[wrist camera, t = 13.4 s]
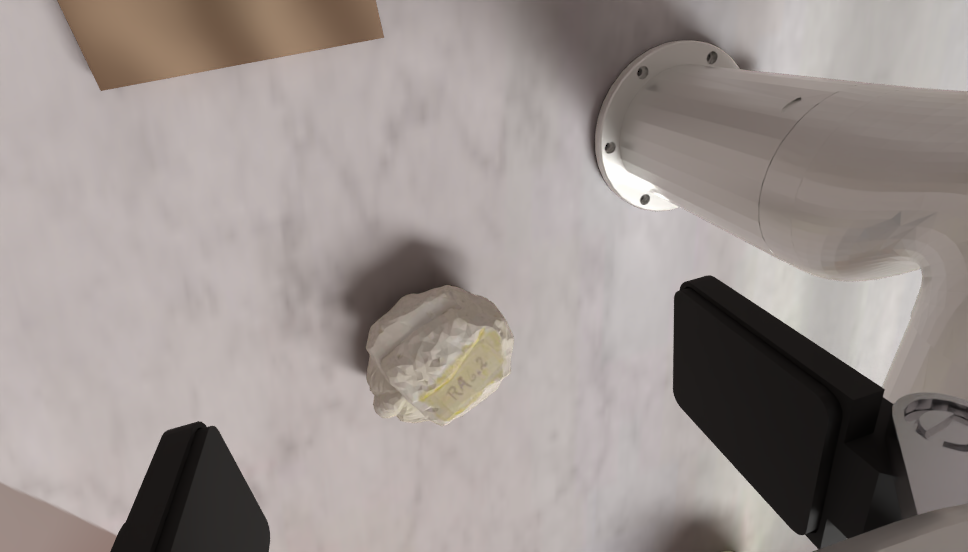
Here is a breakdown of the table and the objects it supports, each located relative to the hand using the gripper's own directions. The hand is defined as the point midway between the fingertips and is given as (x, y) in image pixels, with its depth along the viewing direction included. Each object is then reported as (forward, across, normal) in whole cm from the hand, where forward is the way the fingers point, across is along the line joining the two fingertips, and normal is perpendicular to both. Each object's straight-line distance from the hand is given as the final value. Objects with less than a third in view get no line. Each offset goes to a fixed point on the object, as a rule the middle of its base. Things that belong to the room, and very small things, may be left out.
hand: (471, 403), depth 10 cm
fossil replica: (+29, 0, +16) cm, 33 cm away
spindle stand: (+28, +6, -13) cm, 32 cm away
